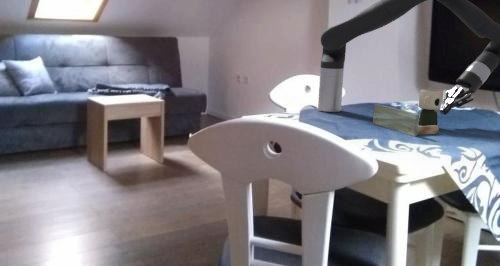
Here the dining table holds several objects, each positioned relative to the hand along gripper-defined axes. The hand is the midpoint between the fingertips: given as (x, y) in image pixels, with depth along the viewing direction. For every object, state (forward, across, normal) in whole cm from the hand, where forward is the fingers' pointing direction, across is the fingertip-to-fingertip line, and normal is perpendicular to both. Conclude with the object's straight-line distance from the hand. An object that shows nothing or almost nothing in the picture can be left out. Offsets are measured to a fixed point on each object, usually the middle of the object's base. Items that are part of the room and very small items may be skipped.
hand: (442, 113), depth 169 cm
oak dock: (+14, 0, -7) cm, 15 cm away
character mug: (+8, 0, -1) cm, 8 cm away
